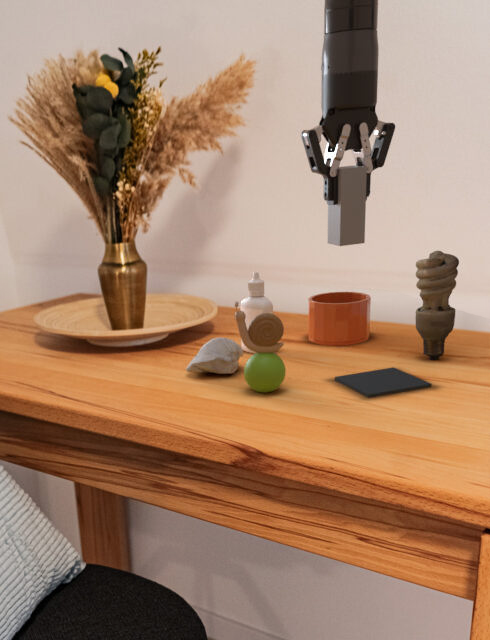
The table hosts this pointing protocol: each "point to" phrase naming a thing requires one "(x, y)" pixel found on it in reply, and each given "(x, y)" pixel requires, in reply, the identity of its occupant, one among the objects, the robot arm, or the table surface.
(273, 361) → the snail figurine
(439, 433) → the table surface
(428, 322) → the light bulb
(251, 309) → the eye dropper bottle
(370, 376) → the mat
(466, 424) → the table surface
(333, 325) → the cup
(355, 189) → the block
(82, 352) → the table surface
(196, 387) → the table surface
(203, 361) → the pebble
